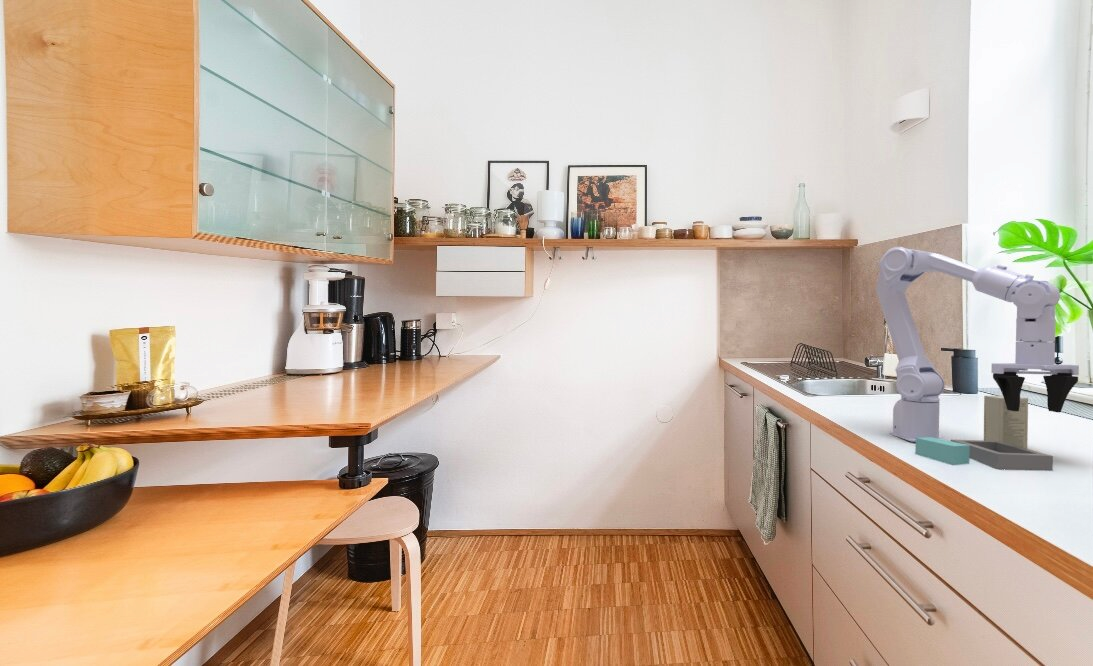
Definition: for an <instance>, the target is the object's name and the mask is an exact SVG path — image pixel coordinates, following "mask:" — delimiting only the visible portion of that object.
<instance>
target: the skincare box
mask: <svg viewBox="0 0 1093 666" xmlns="http://www.w3.org/2000/svg"><path fill="white" fill-rule="evenodd" d="M983 402H984V403H983V441H1000V442H1004V443H1008V444H1011V445H1015V446H1018V447H1022V448H1026V449H1028V441H1029V440H1028V439H1029V438H1028V437H1029V436H1028V433H1029V430H1028V429H1029V427H1028V426H1029V425H1028V423H1029V398H1028V397H1022V396H1020V407H1019V411H1011V410H1007V407H1006V403H1005V400H1004V397H1003V395H984V398H983Z"/></svg>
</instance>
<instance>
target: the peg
mask: <svg viewBox="0 0 1093 666" xmlns="http://www.w3.org/2000/svg"><path fill="white" fill-rule="evenodd" d="M942 439H943V438H941V439H937V438H933V437H923V438H916V442H915V452H914V453H915V455H918V456H921V457H925V458H929V459H931V460H935V461H938V462H941V463H945V464H948V465H951V466H957V465H966V464H970V458H969V453H970V445H966V444H961V443H956V442H952V441H950V440H948V441H947V439H944V440H942Z"/></svg>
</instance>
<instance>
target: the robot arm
mask: <svg viewBox="0 0 1093 666" xmlns="http://www.w3.org/2000/svg"><path fill="white" fill-rule="evenodd" d="M877 265H878V268H879V273H878V277H877V282H876V288H875V291H876V296H877V297H878V301H879V304H880V307H881V311H882V313H883V316H884V319H885V322H886V326H887V330H888V331H889V334H890V335H889V336H890V337H891V341H892V344H893V348H894V350H895V353H896V356H897V359H898V363H897V365H896V367H895V369H894V370H895V374H896V381H895V387H896V388H895V389H896V391H897V392H898V394H899V395H900V399H899V400H897V401H896V402H895V403H894V405H893V409H892V431H888V434H889V435H892V436H894V437H896V438H900V439H903V440H906V441H907V442H908V441H909V442H911V443H912V442H913V443H916V438H923V437H933V438H937V439H942V440H945V439H944V438H941V437H940V405H941V404H940V400H941V399H940V397H939V396H940V395H942V394H943V392H944V391H945V388H946V382H945V379H944V377H943V376H942V375H941V374H940V373H939V372H938V371H937V369H936V367H935V364H934V363H933V362H932V361H931V360H930V359H929V358H928V356H927V355H926V352H925V350H924V347H923V343H922V341H921V338H920V335H919V332H918V329H917V326H916V323H915V319H914V317H913V314H912V311H911V308H910V306H909V302H908V300H907V297H906V294H905V292H906V291H907V289H908V288H909V287H910V285H911V284H912V283H914V282H915V281H916V280H917V279H918V278H920V277H922V276H923V275H924V274H925V273H935V272H940V273H942V274H946V275H948V276H951V277H955V278H957V279H961V280H965V281H967V282H970V283H971V284H972V286H973V287H974V289H975V291H977V292H979V293H983V294H984V295H987V296H990V297H993V298H996V299H998V300H1001V301H1004V302H1007V303H1013V305H1014V306H1016V319H1015V323H1016V324H1015V359H1014V360H1015V361H1014V362H1015V363H1014V362H1013V363H1007V362H1006V363H1003V362H1001V363H995V362H993V363H991V369H990V370H991V374H992V378H993V380H994V381H995V382H996V385H997V386H998V389H1000V391H1001V394H1002V396H1003V397H1004V400H1005V403H1006V407H1007V410H1011V411H1019V407H1020V397H1021V393H1022V388H1023V385H1024V382H1025V379H1026V377H1024V376H1019V375H1043V376H1042V377H1043V380H1044V383H1045V387H1046V388H1045V389H1046V392H1047V393H1046V394H1047V401H1046V403H1047V408H1048V409H1047V411H1048V412H1054V413H1062V410H1063V407H1064V404H1065V402H1066V399H1067V397H1068V395H1069V393H1070V392H1071V390H1073V388H1074V386H1075V385H1076V384H1077V383H1078V382H1079V374H1080V365H1079V364H1058V363H1057V364H1055V363H1056V362H1055V360H1056V359H1055V358H1056V357H1055V356H1056V321H1057V319H1056V305H1057V304H1058V303H1059V301H1060V299H1061V292H1060V290H1059V288H1058V287H1057V286H1056V285H1054V284H1052V283H1050V282H1049V281H1047V280H1034V275H1031V274H1028V273H1027V274H1025V275H1023V274H1020V273H1017V272H1014V271H1012V270H1008V267H1007V266H1005V265H1001V264H997V266H996V265H992V264H991V265H987V266H985V267H983V268H981V267H977V266H974V265H971V264H968V263H965V262H963V261H960V260H957V259H954V258H951V257H950V256H946V255H944V254H941V253H935V252H929V251H923V250H919V249H910V248H905V247H902V246H895V247H892V248H889V249H888V250H887V251H886V252H884V254H883V256H882V257H881V258H880V260H879V261H878V262H877ZM1029 370H1031V371H1029ZM1032 370H1037V371H1032ZM1038 370H1040V371H1038ZM946 440H947V439H946ZM947 441H949V440H947Z"/></svg>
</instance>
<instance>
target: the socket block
mask: <svg viewBox="0 0 1093 666" xmlns="http://www.w3.org/2000/svg"><path fill="white" fill-rule="evenodd" d="M949 441H952V442H956V443H961V444H966V445H970V453H969V459H971V460H974V461H976V462H978V463H981V464H982V465H986V466H988V467H990V468H993V469H995V470H997V469H998V470H1000V471H1046V472H1047V471H1049V472H1050V471H1052V472H1053V471H1054V469H1053V468H1054V467H1053V466H1054V463H1053V462H1054V456H1053V455H1051V454H1048V453H1043V452H1040V451H1037V450H1032V449H1029V448H1027V449H1026V448H1022V447H1018V446H1015V445H1011V444H1008V443H1004V442H1000V441H984V440H981V439H980V440H978V439H977V440H974V439H950V440H949ZM1004 469H1005V470H1004ZM998 470H997V471H998Z"/></svg>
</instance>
